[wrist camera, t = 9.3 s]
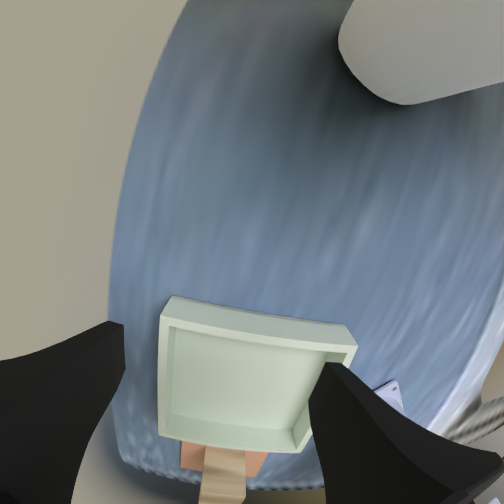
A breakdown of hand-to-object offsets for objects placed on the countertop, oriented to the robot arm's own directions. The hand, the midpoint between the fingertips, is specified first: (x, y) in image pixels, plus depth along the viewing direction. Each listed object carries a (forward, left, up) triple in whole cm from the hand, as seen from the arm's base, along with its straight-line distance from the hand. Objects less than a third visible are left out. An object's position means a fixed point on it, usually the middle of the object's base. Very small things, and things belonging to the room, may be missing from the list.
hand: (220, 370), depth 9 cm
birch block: (-17, +11, -9) cm, 22 cm away
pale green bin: (-8, +4, -9) cm, 13 cm away
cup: (+9, -17, -10) cm, 21 cm away
